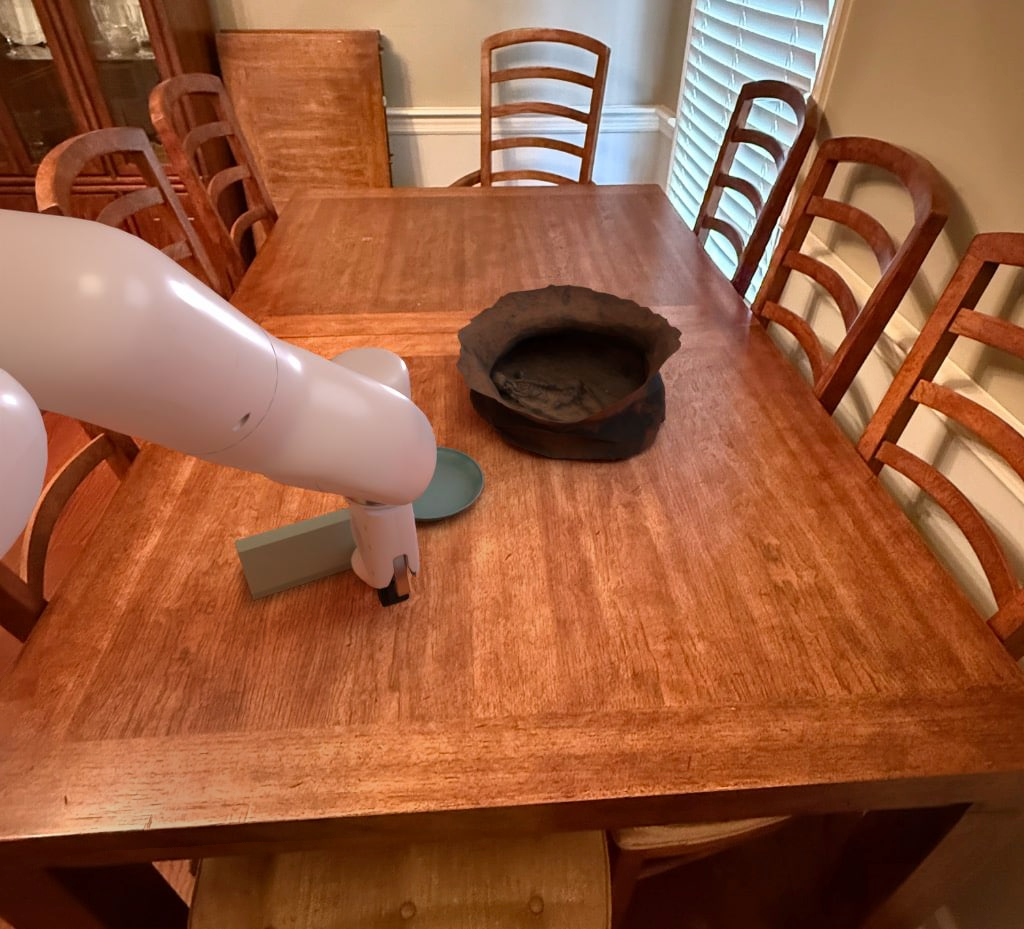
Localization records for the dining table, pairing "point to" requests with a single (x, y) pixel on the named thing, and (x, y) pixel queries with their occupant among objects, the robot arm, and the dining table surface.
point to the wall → (297, 553)
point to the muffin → (360, 567)
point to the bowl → (569, 371)
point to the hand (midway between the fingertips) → (393, 598)
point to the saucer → (449, 486)
